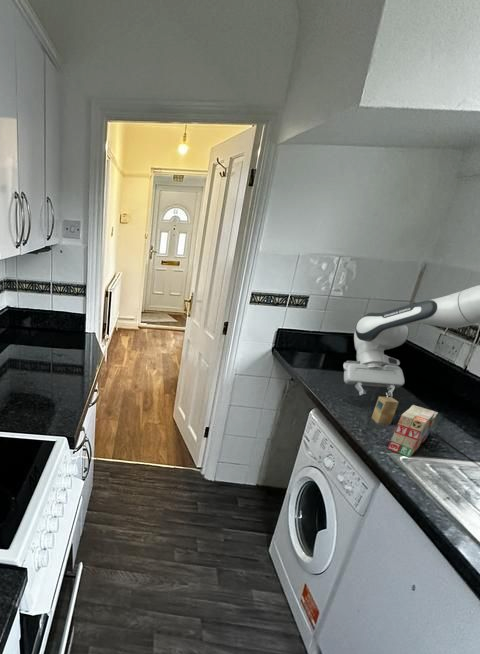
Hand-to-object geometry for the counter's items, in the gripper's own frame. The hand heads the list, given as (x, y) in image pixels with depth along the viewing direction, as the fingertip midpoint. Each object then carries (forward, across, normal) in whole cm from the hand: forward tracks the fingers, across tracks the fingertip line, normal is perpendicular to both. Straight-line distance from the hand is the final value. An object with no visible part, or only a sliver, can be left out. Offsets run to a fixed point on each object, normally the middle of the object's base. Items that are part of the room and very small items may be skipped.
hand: (376, 396), depth 152 cm
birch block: (+10, 0, 0) cm, 10 cm away
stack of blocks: (+21, +1, -11) cm, 23 cm away
